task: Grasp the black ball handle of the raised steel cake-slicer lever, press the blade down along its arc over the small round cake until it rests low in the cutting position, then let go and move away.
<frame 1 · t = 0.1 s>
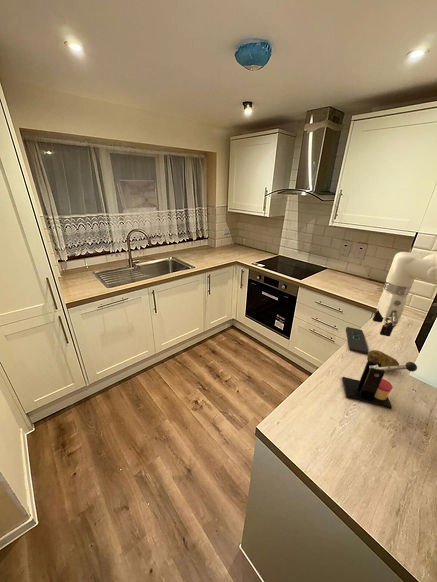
hand: (380, 328, 90), 24 cm above the worktop, tool pointing down, fingers open, 9 cm apart
slicer arm: (392, 368, 84), point 14 cm above the worktop, hinge at 25.0°
potato: (380, 368, 104), on the worktop
smart home device: (355, 341, 122), on the worktop
cake: (378, 393, 90), resting on slicer
slicer: (364, 392, 91), on the worktop
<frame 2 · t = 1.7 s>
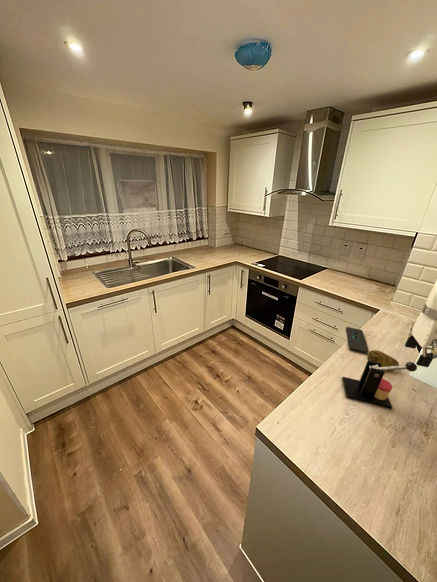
hand: (415, 356, 80), 21 cm above the worktop, tool pointing down, fingers open, 9 cm apart
nothing on the worktop moved.
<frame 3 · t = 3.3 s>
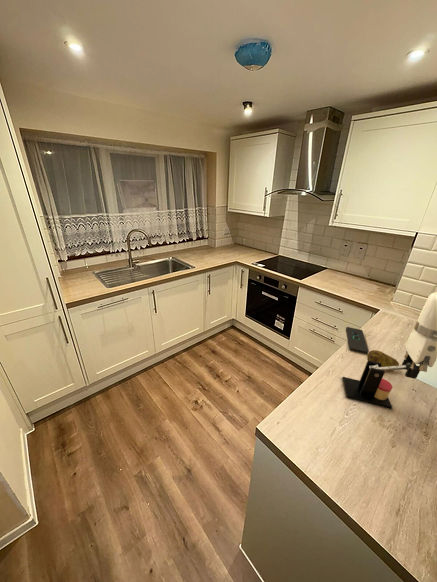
hand: (408, 372, 83), 14 cm above the worktop, tool pointing down, fingers closed on slicer arm, 3 cm apart
slicer arm: (392, 368, 84), point 14 cm above the worktop, hinge at 25.0°, touching gripper
everything else where it was.
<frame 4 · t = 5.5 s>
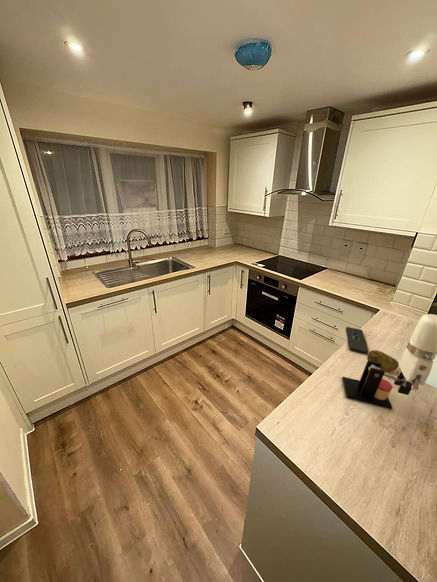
hand: (400, 388, 86), 6 cm above the worktop, tool pointing down, fingers closed on slicer arm, 3 cm apart
slicer arm: (390, 376, 85), point 11 cm above the worktop, hinge at -14.7°, touching gripper
everything else where it was.
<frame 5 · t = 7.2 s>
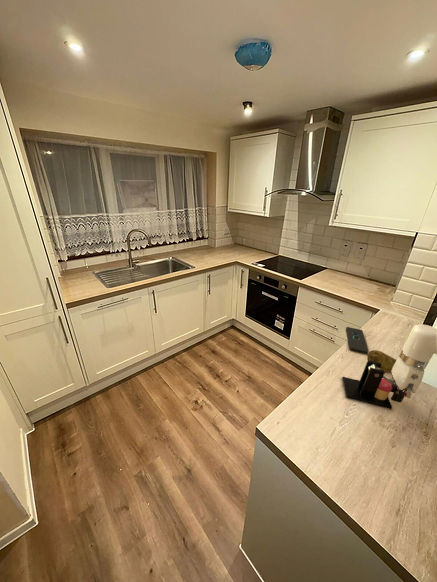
hand: (393, 395, 88), 2 cm above the worktop, tool pointing down, fingers open, 3 cm apart
slicer arm: (386, 378, 86), point 9 cm above the worktop, hinge at -30.6°
everything else where it was.
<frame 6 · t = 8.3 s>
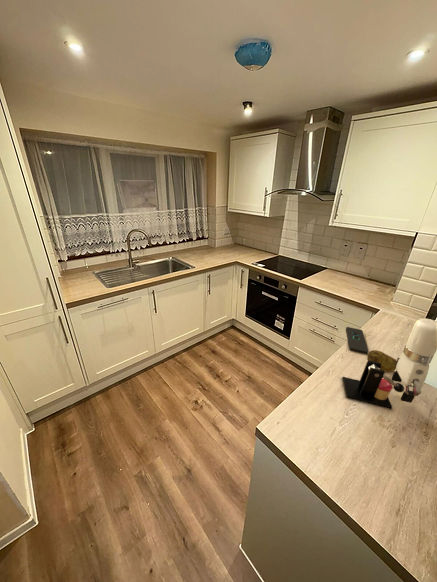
hand: (400, 390, 86), 5 cm above the worktop, tool pointing down, fingers open, 9 cm apart
nothing on the worktop moved.
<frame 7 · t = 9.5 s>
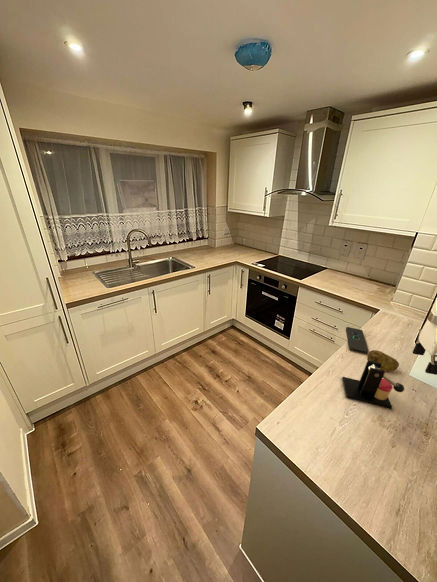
hand: (423, 363, 79), 19 cm above the worktop, tool pointing down, fingers open, 9 cm apart
nothing on the worktop moved.
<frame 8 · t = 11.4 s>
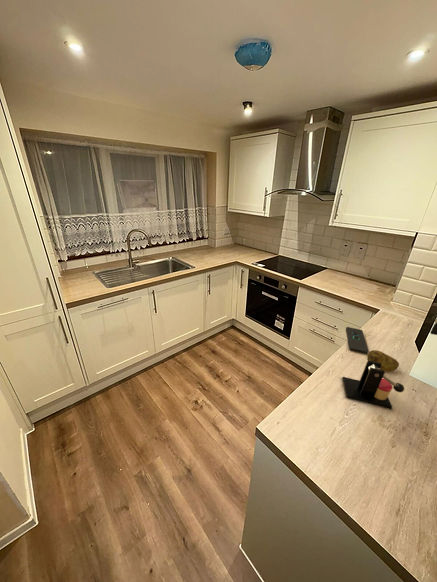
nothing on the worktop moved.
at the end: slicer arm reached -33° during the clip, -30° at the end; slicer arm at -30° (first picture: +25°) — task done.
